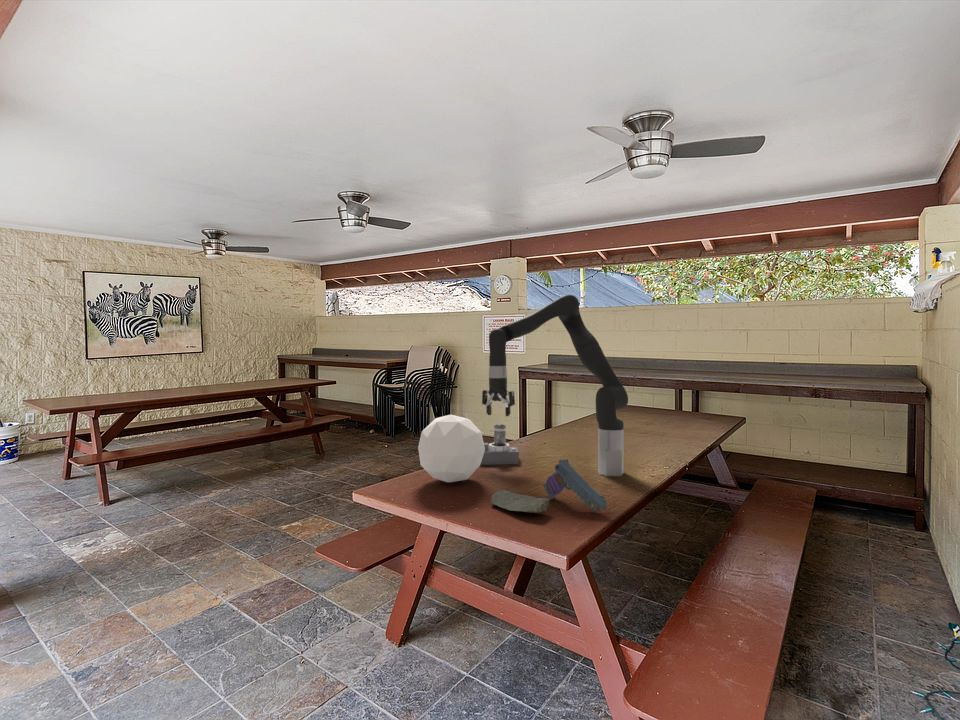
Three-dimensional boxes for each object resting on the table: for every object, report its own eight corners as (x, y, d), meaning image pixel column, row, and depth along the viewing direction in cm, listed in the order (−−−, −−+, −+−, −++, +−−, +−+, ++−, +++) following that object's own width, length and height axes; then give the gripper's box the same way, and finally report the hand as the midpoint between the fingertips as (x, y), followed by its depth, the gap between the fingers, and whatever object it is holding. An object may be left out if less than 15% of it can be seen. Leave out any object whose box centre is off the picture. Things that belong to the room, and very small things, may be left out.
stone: (481, 501, 158) (501, 487, 165) (484, 512, 158) (504, 497, 165) (534, 511, 143) (553, 494, 150) (537, 522, 143) (556, 505, 150)
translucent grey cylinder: (507, 448, 209) (507, 424, 209) (502, 451, 205) (502, 426, 204) (497, 447, 212) (497, 423, 211) (491, 449, 207) (491, 425, 207)
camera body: (518, 466, 203) (518, 446, 203) (479, 466, 204) (479, 446, 203) (517, 460, 214) (517, 440, 214) (480, 460, 214) (480, 441, 214)
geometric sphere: (453, 469, 199) (452, 407, 198) (498, 482, 181) (498, 414, 180) (404, 482, 182) (403, 414, 181) (449, 497, 165) (448, 422, 164)
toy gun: (545, 486, 166) (564, 453, 160) (590, 534, 154) (612, 500, 147) (539, 488, 164) (558, 454, 158) (583, 537, 151) (605, 502, 145)
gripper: (517, 376, 206) (517, 415, 207) (487, 375, 214) (487, 413, 214) (509, 377, 200) (509, 417, 200) (478, 376, 207) (479, 415, 208)
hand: (498, 415), depth 207 cm, fingers open, 8 cm apart
